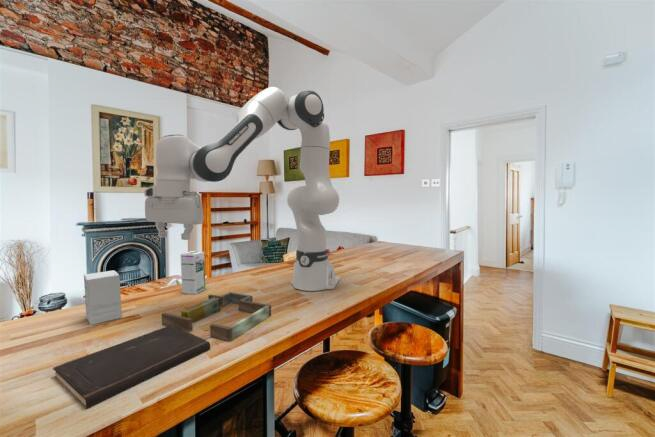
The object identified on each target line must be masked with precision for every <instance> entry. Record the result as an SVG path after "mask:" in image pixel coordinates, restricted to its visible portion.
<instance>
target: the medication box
mask: <svg viewBox="0 0 655 437" xmlns="http://www.w3.org/2000/svg"><path fill="white" fill-rule="evenodd" d="M219 300H220V298H214V297H213V298H211V299H208V298H207V299H206V300H204V301H201V302H200V303H196V304H195V305H192V306H190V307H187V308H185V309H183V310H181V311H180V316H182V317H187V318H191V319H192V324H195V323H197V322H199V321H201V320H204V319H205V318H208V317H209V316H211V315H213V314H216V313H218V312H219V311H221V307H220V301H219Z"/></svg>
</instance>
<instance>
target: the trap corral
mask: <svg viewBox="0 0 655 437" xmlns="http://www.w3.org/2000/svg"><path fill="white" fill-rule="evenodd" d="M213 297H214V298H220V300H219V301H220V308H222V307H224V306H225V305H226V306H227V305H229V304H230V303H231V304H236V305H237V304H238V311H239V312H243V313H249V314H248V315H247V316H246V317H244V318H242V319H241V320H238V321H237V322H235V323H233V324H231V325H230V326H226V325H222V324H218V323H210V325H209V329H210V331H209V334H210V335H209V336H210V338H214V339H217V340H222V341H225V342H230V343H231V341H233V340H234V339H236V338H237V337H239V336H240V335H242V334H244V333H245V332H247V331H249V330H250V329H251V328H253V327H255V326H256V325H258V324H259V323H261V322H263V321H264V320H266V319H268V318H269V317H271V316H272V305H271V304H266V303H262V302H261V303H260V302H255V301H254V302H253V295H248V294H243V293H237V292H232V291H231V292H226V293H225V294H222V295H217V294H216V295H215V294H208V295H207V300H208V299H211V298H213ZM161 325H162V326H165V327H167V326H170V325H172V326H175V327H177V328H179V329H181V330H184V331H186V332H188V333H190V332H191V331H193V330H194V329H193V323H192V319H191V318H187V317H182V316H181V315H177V314H172V313H169V312H162V313H161Z"/></svg>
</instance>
